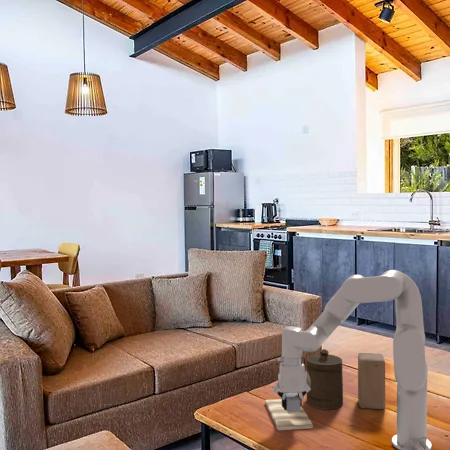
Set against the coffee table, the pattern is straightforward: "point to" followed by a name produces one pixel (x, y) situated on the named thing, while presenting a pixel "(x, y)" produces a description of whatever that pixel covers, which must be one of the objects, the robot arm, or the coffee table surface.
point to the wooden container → (324, 380)
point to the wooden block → (371, 380)
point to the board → (287, 416)
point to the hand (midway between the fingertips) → (291, 407)
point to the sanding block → (293, 403)
